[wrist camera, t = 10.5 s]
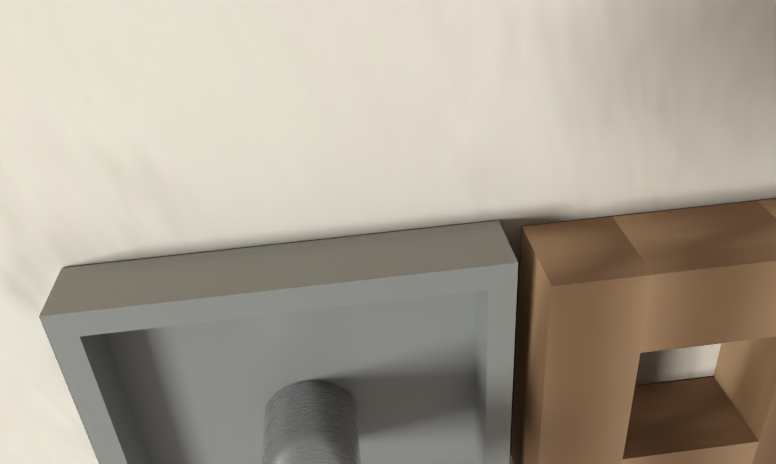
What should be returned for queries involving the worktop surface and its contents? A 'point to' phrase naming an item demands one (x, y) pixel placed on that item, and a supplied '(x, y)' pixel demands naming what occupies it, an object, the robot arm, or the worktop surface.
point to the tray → (295, 345)
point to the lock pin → (311, 425)
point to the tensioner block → (647, 337)
